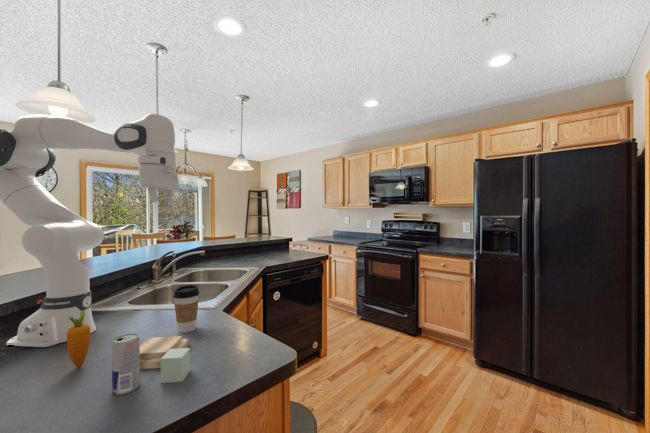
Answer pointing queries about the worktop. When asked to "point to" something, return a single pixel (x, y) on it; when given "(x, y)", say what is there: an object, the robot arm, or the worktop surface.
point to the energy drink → (125, 364)
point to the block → (175, 365)
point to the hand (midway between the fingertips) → (161, 202)
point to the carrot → (78, 340)
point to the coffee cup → (186, 307)
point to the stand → (158, 350)
